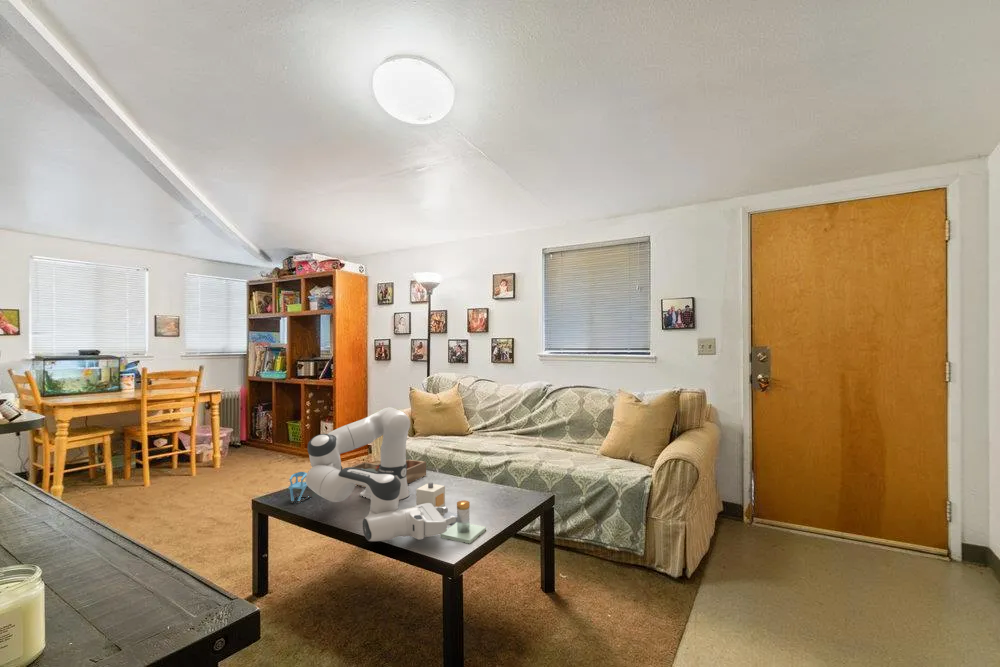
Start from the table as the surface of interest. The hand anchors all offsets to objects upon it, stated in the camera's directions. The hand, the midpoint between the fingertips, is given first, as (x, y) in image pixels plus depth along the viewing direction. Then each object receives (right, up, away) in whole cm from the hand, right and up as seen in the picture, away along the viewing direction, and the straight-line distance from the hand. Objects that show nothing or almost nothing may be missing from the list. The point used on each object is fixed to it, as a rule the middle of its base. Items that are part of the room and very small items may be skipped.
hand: (451, 514), depth 161 cm
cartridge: (+4, -7, +2) cm, 8 cm away
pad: (+4, -8, +2) cm, 9 cm away
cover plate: (-2, -9, +14) cm, 17 cm away
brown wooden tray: (-51, -9, +68) cm, 85 cm away
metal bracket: (-48, -10, +70) cm, 86 cm away
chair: (-71, -9, +38) cm, 81 cm away
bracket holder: (-30, -9, +67) cm, 74 cm away
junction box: (-10, -8, +17) cm, 21 cm away
